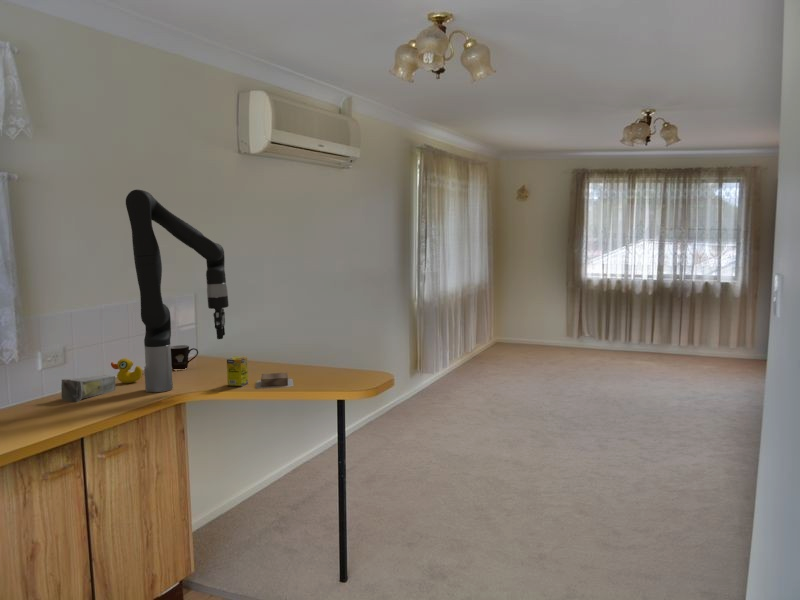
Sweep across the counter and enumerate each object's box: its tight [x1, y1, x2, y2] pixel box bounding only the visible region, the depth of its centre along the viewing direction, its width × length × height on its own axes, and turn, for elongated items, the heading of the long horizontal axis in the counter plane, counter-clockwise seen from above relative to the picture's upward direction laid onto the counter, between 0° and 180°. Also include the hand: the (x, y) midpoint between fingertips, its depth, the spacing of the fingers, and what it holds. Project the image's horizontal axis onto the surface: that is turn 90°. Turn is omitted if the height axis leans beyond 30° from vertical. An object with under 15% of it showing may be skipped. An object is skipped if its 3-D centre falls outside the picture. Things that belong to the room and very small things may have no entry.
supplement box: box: [226, 356, 249, 388], centre depth 246 cm, size 6×6×11 cm
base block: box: [260, 372, 289, 387], centre depth 248 cm, size 10×10×3 cm
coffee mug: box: [171, 344, 199, 369], centre depth 280 cm, size 12×9×10 cm
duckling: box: [110, 358, 143, 384], centre depth 254 cm, size 11×5×10 cm, turn 109°
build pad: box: [255, 378, 294, 390], centre depth 248 cm, size 14×14×1 cm
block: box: [60, 374, 116, 403], centre depth 235 cm, size 19×8×8 cm, turn 156°
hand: (221, 337), depth 244 cm, fingers open, 8 cm apart
